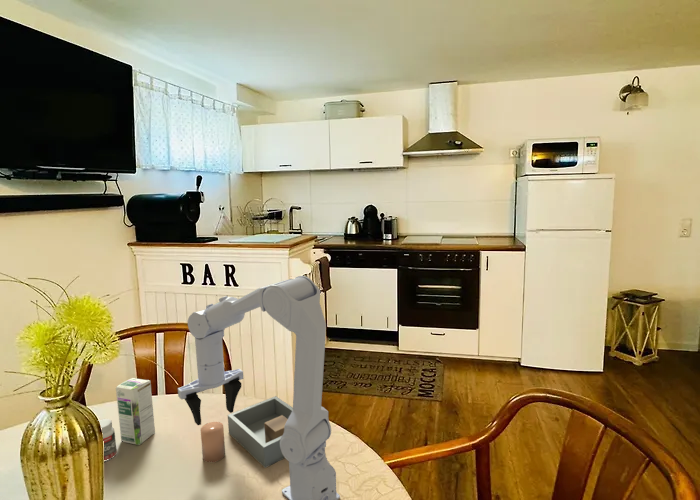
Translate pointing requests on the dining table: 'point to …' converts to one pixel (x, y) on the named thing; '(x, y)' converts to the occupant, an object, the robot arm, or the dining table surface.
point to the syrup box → (135, 410)
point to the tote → (259, 429)
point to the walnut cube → (274, 428)
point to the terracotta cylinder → (213, 441)
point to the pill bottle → (108, 438)
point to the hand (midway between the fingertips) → (214, 416)
